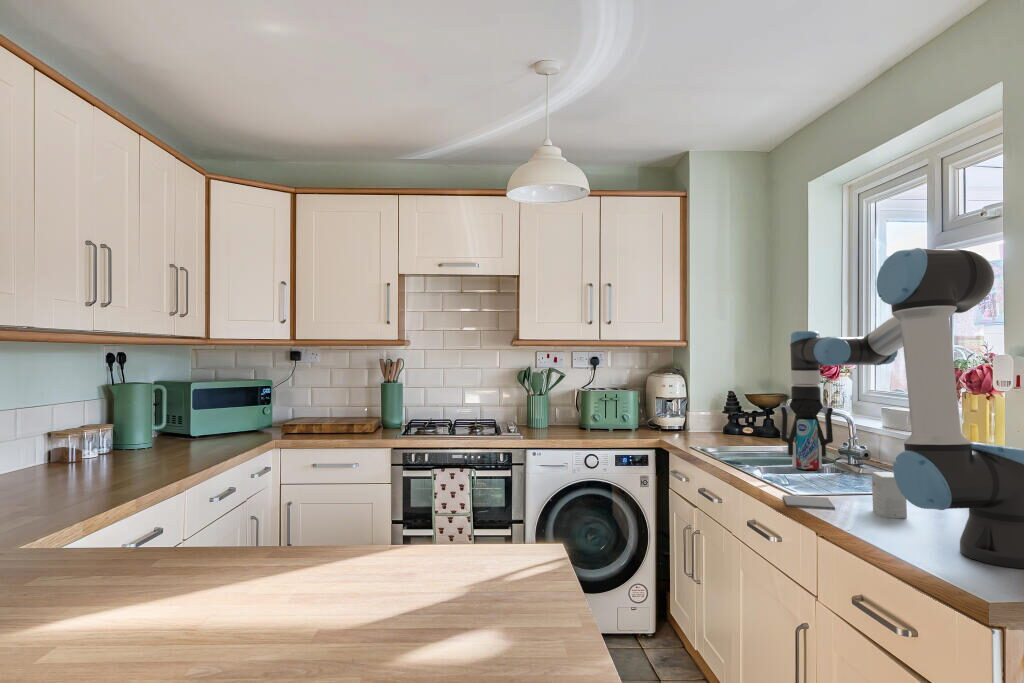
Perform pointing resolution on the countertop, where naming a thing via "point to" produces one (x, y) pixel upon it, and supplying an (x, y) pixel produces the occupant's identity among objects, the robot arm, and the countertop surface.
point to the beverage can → (806, 444)
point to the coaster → (808, 502)
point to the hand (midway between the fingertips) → (806, 466)
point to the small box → (887, 496)
